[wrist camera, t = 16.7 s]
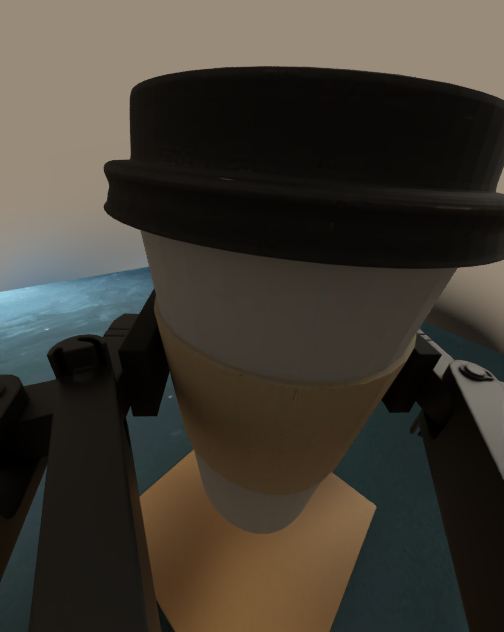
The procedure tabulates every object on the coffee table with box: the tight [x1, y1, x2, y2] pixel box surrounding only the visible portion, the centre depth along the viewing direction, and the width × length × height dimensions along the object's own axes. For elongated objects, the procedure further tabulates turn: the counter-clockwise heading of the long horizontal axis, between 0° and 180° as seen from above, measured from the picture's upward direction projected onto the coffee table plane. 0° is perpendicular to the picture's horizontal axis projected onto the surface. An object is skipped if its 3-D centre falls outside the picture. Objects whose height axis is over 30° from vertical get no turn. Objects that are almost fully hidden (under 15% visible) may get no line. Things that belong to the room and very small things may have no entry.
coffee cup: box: [104, 66, 504, 534], centre depth 10 cm, size 9×9×15 cm
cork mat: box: [140, 450, 376, 632], centre depth 17 cm, size 12×12×1 cm
